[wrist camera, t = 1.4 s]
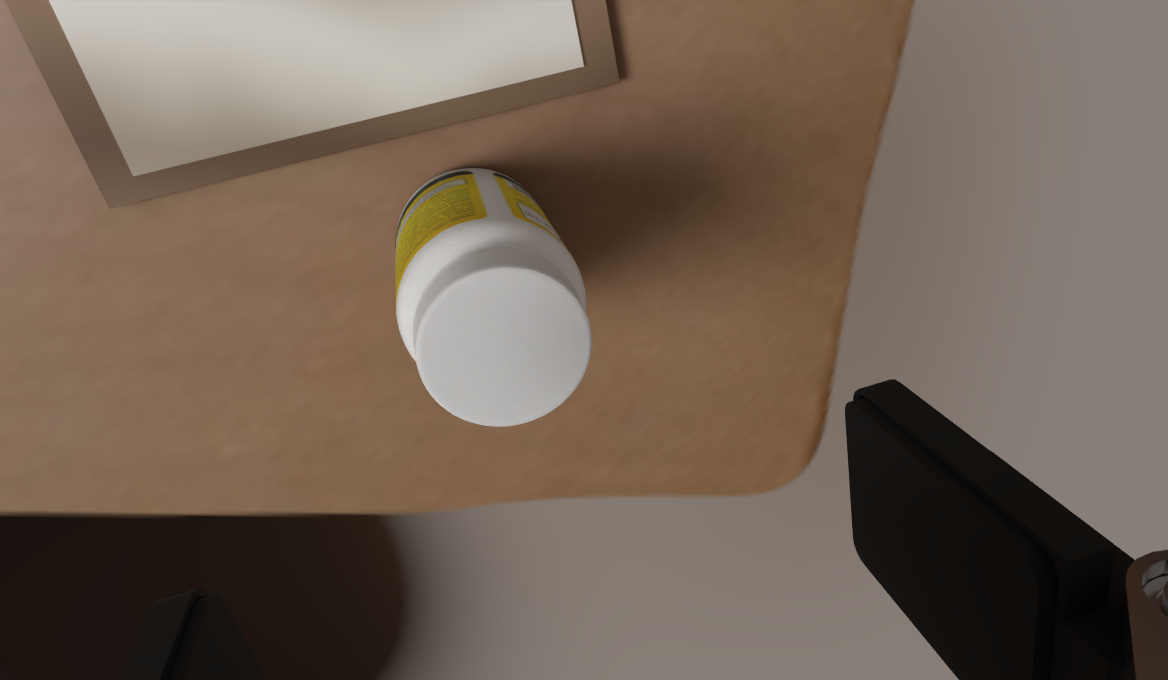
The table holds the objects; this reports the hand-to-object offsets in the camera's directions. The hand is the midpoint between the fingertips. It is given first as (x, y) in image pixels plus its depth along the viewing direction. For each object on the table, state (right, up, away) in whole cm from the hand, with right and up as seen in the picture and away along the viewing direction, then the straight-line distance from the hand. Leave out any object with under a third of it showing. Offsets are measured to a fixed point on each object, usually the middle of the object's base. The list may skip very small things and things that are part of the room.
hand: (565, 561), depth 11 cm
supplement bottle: (-3, +7, +13) cm, 15 cm away
